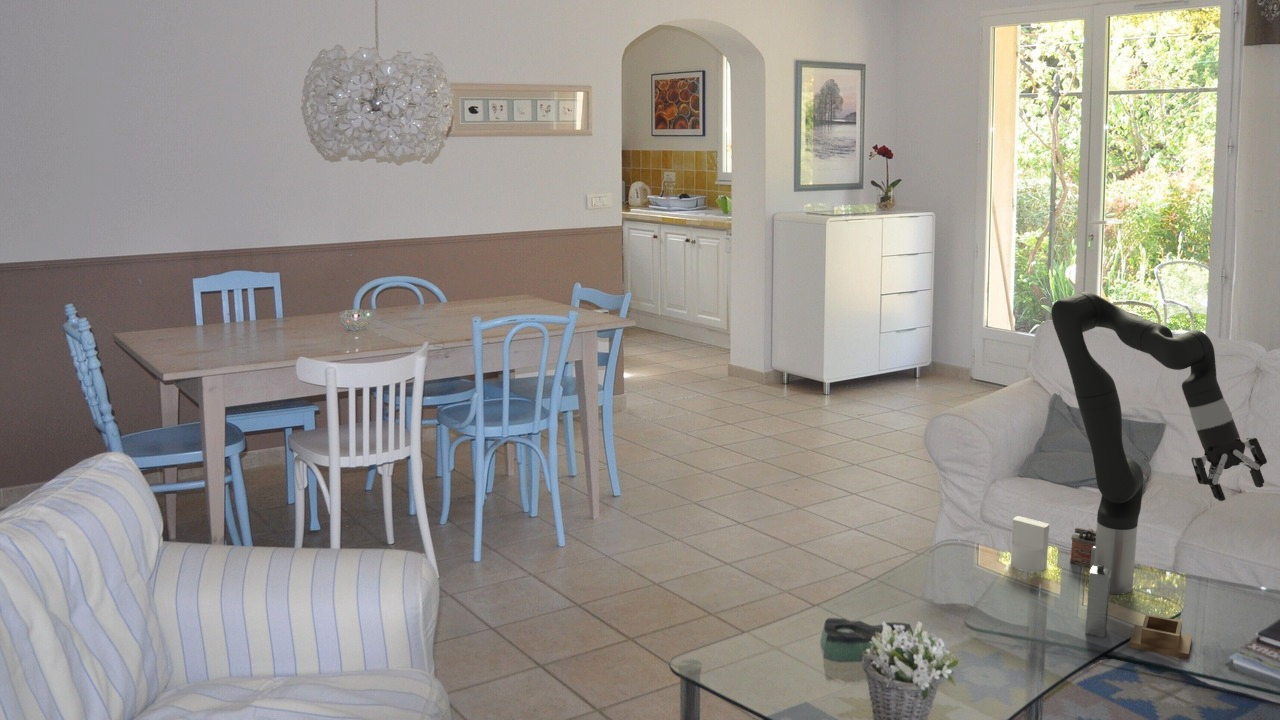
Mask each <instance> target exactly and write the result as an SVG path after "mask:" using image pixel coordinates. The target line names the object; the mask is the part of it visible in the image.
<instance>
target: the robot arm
mask: <svg viewBox="0 0 1280 720" xmlns="http://www.w3.org/2000/svg"><path fill="white" fill-rule="evenodd" d="M1050 312H1051V320H1052V325H1053V328H1054V330H1055V333H1056V336H1057V338H1058V340H1059V343H1060V346H1061V348H1062V352H1063V354H1064V357H1065V360H1066V362H1067V363H1066V364H1067V367H1068V369H1069V373H1070V377H1071V380H1072V384H1073V387H1074V393H1075V397H1076V400H1077V405H1078V408H1079V409H1078V410H1079V412H1080V415H1081V418H1082V421H1083V425H1084V429H1085V433H1086V437H1087V439H1088V442H1089V446H1090V450H1091V453H1092V459H1093V460H1092V461H1093V465H1094V473H1095V481H1096V486H1097V488H1098V490H1099V493H1100V494H1101V498H1100V503H1099V506H1098V509H1097V515H1096V516H1097V517H1096V528H1095V529H1096V530H1095V531H1096V543H1095V546H1094V547H1092V551H1091V565H1090V568H1089V569H1090V570H1089V572H1090V571H1091V568H1092V566H1097V567H1098V565H1104V568H1108V569H1111V577H1110V590H1109V595H1110V594H1111V595H1124V594H1123V593H1126V594H1128V592H1129V593H1131V592H1132V591H1133V587H1134V585H1133V584H1134V574H1135V571H1134V570H1135V561H1136V551H1137V550H1136V548H1137V536H1138V535H1137V534H1138V525H1139V516H1140V513H1141V509H1142V499H1143V493H1144V492H1143V490H1144V472H1143V470H1142V468H1141V466H1140V465H1139V463H1137V462H1136V461H1135V460H1133V459H1132V458H1129V457H1126V453H1125V449H1124V445H1123V419H1122V417H1123V416H1122V407H1121V401H1120V397H1119V393H1118V391H1117V390H1118V389H1117V386H1116V382H1115V381H1114V379H1113V377H1112V376H1111V374H1109V372H1107V370H1106V369H1105V368H1104V367H1102V365H1100V363H1098V362H1097V361H1096V359H1094V357H1093V356H1092V355H1091V353H1090V352H1089V349H1088V347H1087V343H1086V341H1085V337H1084V333H1085V332H1088V331H1090V330H1093V329H1094V328H1104V329H1109V330H1112V331H1113V332H1115V334H1116V335H1117V337H1118V338H1119V340H1120V341H1121V342H1122V343H1123V344H1124V345H1126V346H1128V347H1129V348H1132V349H1134V350H1137V351H1140V352H1143V353H1145V354H1148V355H1150V356H1151V357H1152V358H1153V359H1154V360H1155V361H1157V362H1159V363H1160V364H1161V365H1163V366H1164V367H1165V368H1167V369H1171V370H1174V371H1175V370H1176V371H1181V370H1186V369H1187V368H1190V374H1189V376H1188V377H1187V378H1186V379H1184V381H1183V382H1182V383H1181V389H1182V392H1183V395H1184V398H1185V400H1186V403H1187V406H1188V408H1189V409H1188V410H1189V411H1190V417H1191V420H1192V422H1193V425H1194V429H1195V431H1196V433H1197V435H1198V438H1199V441H1200V444H1201V446H1202V449H1203V450H1204V454H1203V455H1201V456H1194V457H1192V458H1191V464H1192V467H1193V470H1194V473H1195V476H1196V480H1197V482H1198V484H1200V485H1204V486H1205V485H1206V486H1207V485H1208V486H1209V487H1210V490H1211V493H1212V494H1213V495H1212V496H1213V497H1214V499H1216V500H1218V501H1219V502H1223V501H1226V497H1225V494H1224V491H1223V488H1222V485H1221V484H1220V483H1219V481H1220V478H1221V475H1222V474H1223V471H1224V470H1227V469H1231V468H1232V467H1236V466H1239V465H1240V464H1241V465H1243V466H1245V467H1246V468H1248V469H1250V470H1249V473H1250V476H1251V480H1252V481H1253V484H1254V486H1255V488H1262V487H1264V484H1265V479H1264V476H1263V474H1262V471H1261V467H1262V466H1264V465H1266V464H1267V462H1268V461H1267V458H1266V455H1265V453H1264V451H1263V449H1262V447H1261V444H1260V442H1259V440H1258V439H1257V437H1247V438H1246V439H1245V440H1244V441H1242V440H1241V437H1240V433H1239V431H1238V428H1237V426H1236V423H1235V420H1234V417H1233V414H1232V412H1231V411H1230V410H1231V409H1230V406H1229V405H1228V403H1227V401H1226V400H1225V398H1224V395H1223V392H1222V389H1221V387H1220V385H1219V382H1218V378H1217V366H1216V357H1215V355H1216V354H1215V348H1214V344H1213V342H1212V340H1211V339H1210V338H1209V336H1208V335H1207V334H1206V333H1204V332H1203V331H1201V330H1198V329H1193V330H1189V331H1186V332H1184V333H1181V334H1179V335H1176V336H1175V337H1174V336H1173V335H1174V334H1173V332H1172V331H1171V329H1170V328H1169V327H1167V326H1166V325H1163V324H1160V323H1158V322H1155V321H1152V320H1149V319H1145V318H1143V317H1140V316H1137V315H1135V314H1133V313H1130V312H1129V311H1127V310H1125V309H1123V308H1121V307H1119V306H1118V305H1116V304H1114V303H1112V302H1111V301H1109V300H1107V299H1105V298H1104V297H1102V296H1100V295H1098V294H1096V293H1093V292H1092V291H1082V292H1078V293H1075V294H1072V295H1069V296H1066V297H1063V298H1061V299H1058V300H1056V301H1055V302H1054V303H1053V304H1052V307H1051V311H1050ZM1246 448H1247V449H1248V450H1250V453H1251V454H1252V457H1253V459H1254V460H1253V459H1252V458H1250V457H1248V455H1246V454H1244V453H1245V449H1246ZM1206 462H1208V463H1210V465H1209V468H1208V474H1207V471H1206V468H1205V466H1206ZM1130 591H1131V592H1130Z"/></svg>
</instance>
